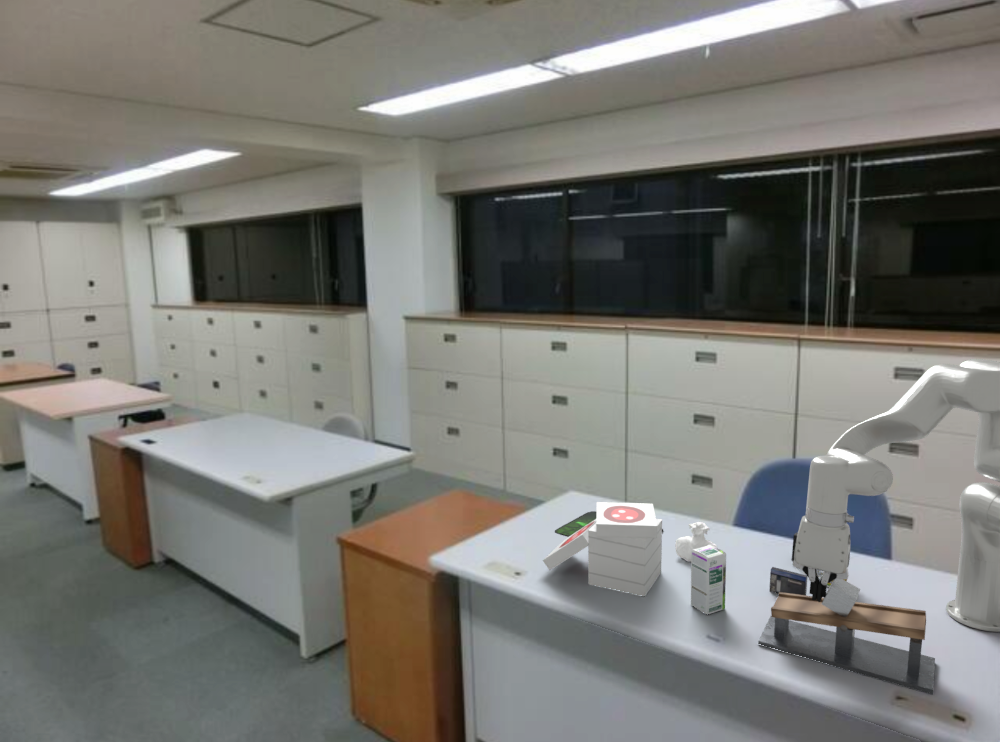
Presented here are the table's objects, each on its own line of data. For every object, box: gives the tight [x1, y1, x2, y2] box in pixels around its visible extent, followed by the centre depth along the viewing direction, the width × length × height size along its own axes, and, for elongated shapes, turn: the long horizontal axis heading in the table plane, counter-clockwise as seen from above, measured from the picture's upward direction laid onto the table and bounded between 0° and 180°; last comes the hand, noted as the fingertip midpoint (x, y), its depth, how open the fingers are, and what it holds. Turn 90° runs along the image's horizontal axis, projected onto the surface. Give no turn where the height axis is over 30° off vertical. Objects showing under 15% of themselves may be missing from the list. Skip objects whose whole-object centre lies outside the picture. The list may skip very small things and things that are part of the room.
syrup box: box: [690, 545, 727, 616], centre depth 162 cm, size 6×6×14 cm
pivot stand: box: [757, 615, 936, 695], centre depth 143 cm, size 32×12×8 cm, turn 57°
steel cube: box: [822, 579, 861, 617], centre depth 141 cm, size 5×5×5 cm
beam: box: [770, 592, 927, 641], centre depth 142 cm, size 28×9×3 cm, turn 56°
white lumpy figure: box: [675, 521, 719, 563], centre depth 188 cm, size 12×8×11 cm
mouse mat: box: [554, 510, 664, 538], centre depth 208 cm, size 27×22×1 cm
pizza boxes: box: [542, 501, 663, 597], centre depth 179 cm, size 19×30×18 cm, turn 61°
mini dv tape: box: [769, 566, 808, 596], centre depth 167 cm, size 8×2×6 cm, turn 53°
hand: (817, 598), depth 144 cm, fingers closed
